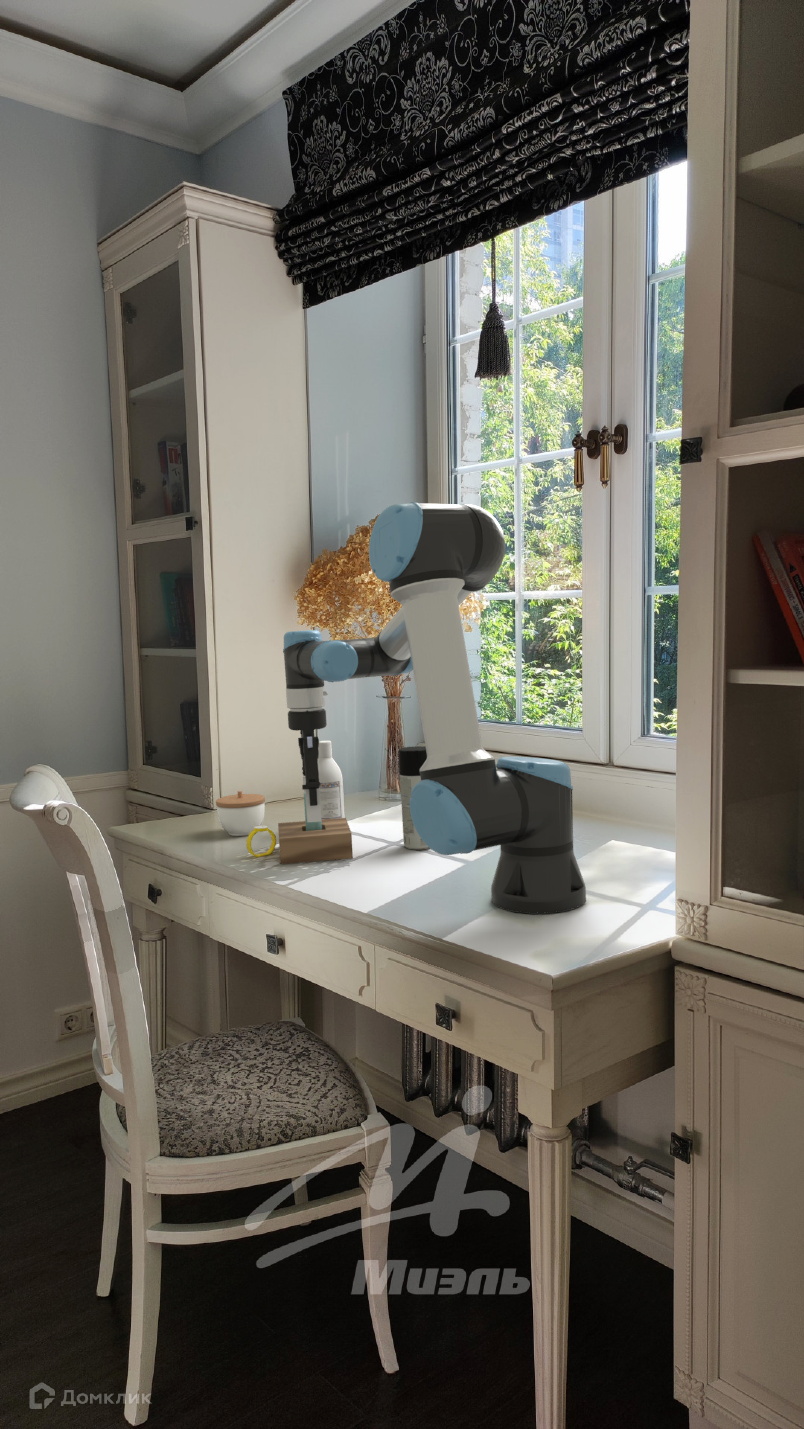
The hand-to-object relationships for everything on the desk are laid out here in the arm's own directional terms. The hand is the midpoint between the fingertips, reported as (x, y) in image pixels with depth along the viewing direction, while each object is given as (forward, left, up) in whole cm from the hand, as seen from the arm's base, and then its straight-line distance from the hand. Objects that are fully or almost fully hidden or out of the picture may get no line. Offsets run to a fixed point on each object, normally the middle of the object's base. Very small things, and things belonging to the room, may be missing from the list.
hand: (312, 814), depth 193 cm
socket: (0, 0, -8) cm, 8 cm away
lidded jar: (+23, +15, -8) cm, 29 cm away
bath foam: (+17, -4, -8) cm, 19 cm away
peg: (0, 0, -8) cm, 8 cm away
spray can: (-2, -21, -8) cm, 23 cm away
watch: (+1, +10, -8) cm, 13 cm away
